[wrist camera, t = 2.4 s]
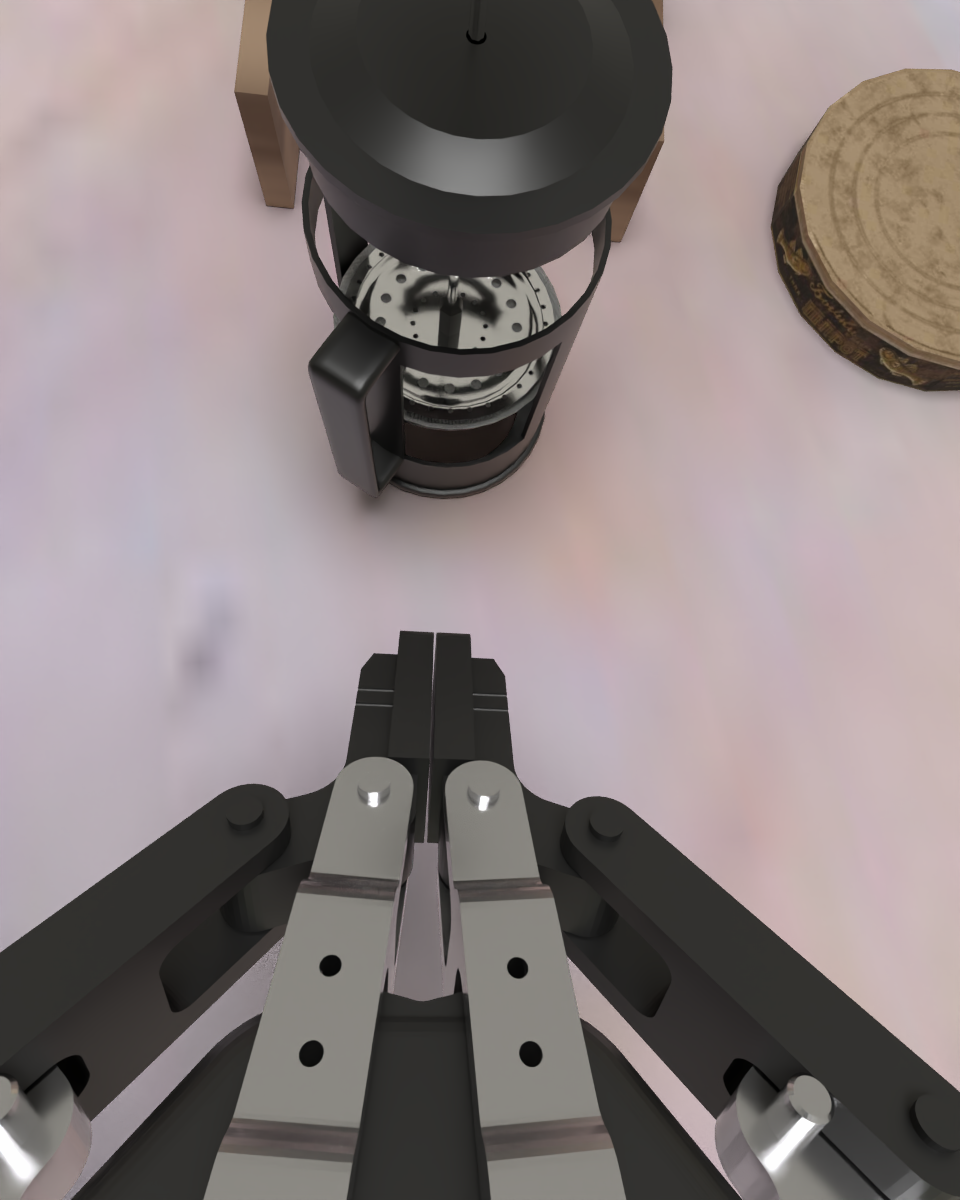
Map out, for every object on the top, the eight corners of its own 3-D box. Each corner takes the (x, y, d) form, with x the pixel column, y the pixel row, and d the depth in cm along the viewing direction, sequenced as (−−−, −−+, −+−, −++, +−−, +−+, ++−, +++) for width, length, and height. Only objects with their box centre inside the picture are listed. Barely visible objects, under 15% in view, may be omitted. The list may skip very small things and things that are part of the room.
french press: (422, 260, 33) (444, -749, 10) (588, 368, 33) (978, -417, 10) (273, 452, 31) (-120, -308, 8) (451, 570, 30) (561, 131, 8)
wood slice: (708, 193, 35) (735, 144, 33) (937, 76, 38) (981, 22, 35) (889, 450, 34) (934, 424, 31) (1115, 309, 37) (1176, 273, 34)
